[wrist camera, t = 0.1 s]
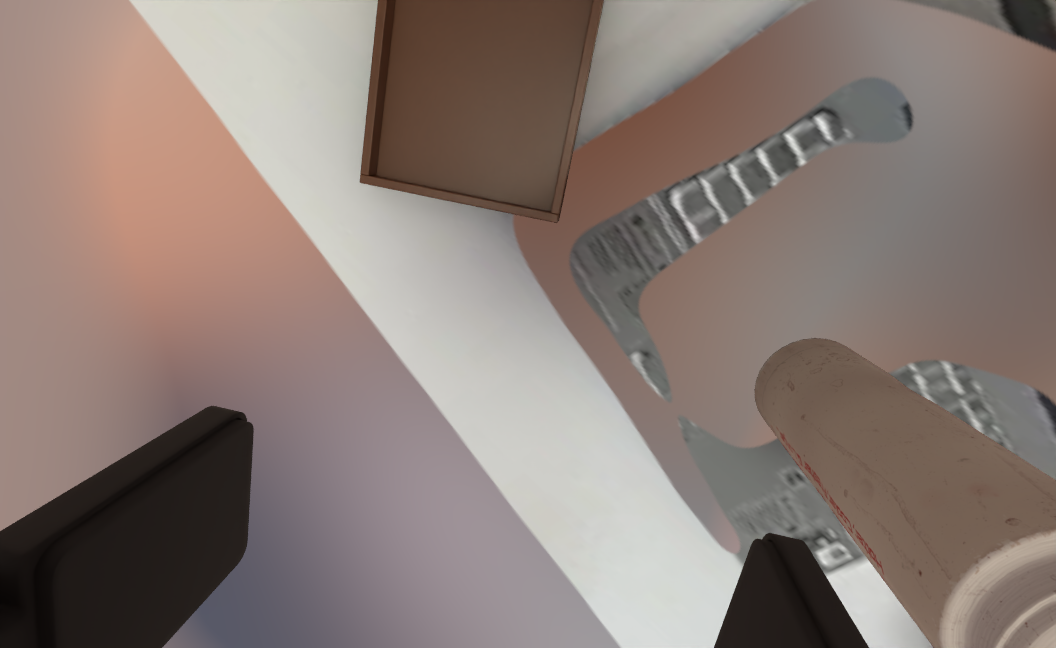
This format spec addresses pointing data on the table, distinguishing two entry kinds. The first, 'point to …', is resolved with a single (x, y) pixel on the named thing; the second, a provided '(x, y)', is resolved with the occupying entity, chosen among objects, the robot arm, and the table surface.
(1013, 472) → the thermos bottle
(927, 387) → the table surface
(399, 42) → the tray
